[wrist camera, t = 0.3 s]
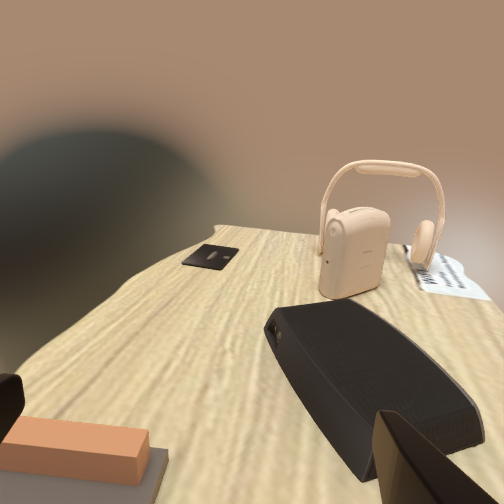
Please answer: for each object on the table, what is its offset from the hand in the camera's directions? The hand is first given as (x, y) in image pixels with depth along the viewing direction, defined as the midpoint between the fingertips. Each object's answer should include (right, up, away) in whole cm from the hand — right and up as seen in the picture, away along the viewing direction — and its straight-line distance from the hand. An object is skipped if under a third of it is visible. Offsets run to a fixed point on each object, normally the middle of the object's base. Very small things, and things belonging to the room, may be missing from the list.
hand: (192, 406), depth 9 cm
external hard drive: (+11, -9, +26) cm, 29 cm away
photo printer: (+16, -2, +43) cm, 46 cm away
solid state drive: (-6, +2, +52) cm, 53 cm away
